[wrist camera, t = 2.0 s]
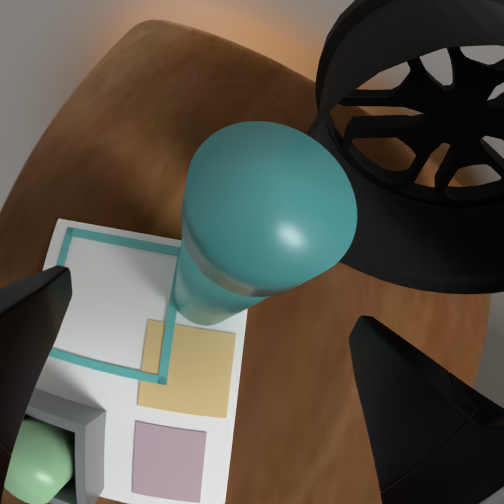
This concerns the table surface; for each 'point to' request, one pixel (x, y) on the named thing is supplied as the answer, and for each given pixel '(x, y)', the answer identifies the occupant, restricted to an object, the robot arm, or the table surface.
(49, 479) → the button
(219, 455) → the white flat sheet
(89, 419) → the button housing
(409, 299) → the table surface
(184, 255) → the teal round-topped cylinder
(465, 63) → the car wheel rim
